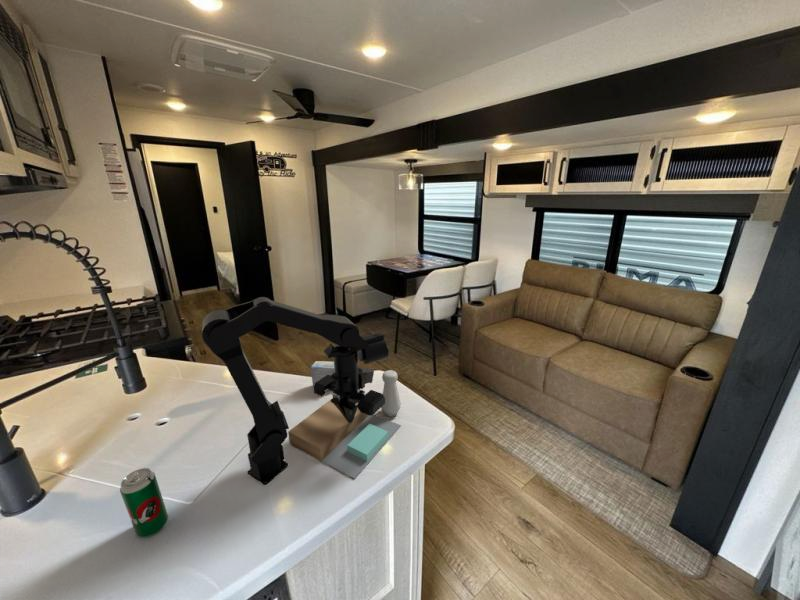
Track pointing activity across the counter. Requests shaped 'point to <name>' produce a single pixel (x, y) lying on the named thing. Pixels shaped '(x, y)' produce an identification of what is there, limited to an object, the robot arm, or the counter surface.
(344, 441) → the mat
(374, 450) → the teal rectangular block
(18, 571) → the counter surface
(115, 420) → the counter surface
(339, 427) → the deck
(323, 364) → the medicine box
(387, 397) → the salt shaker
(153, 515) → the soda can
